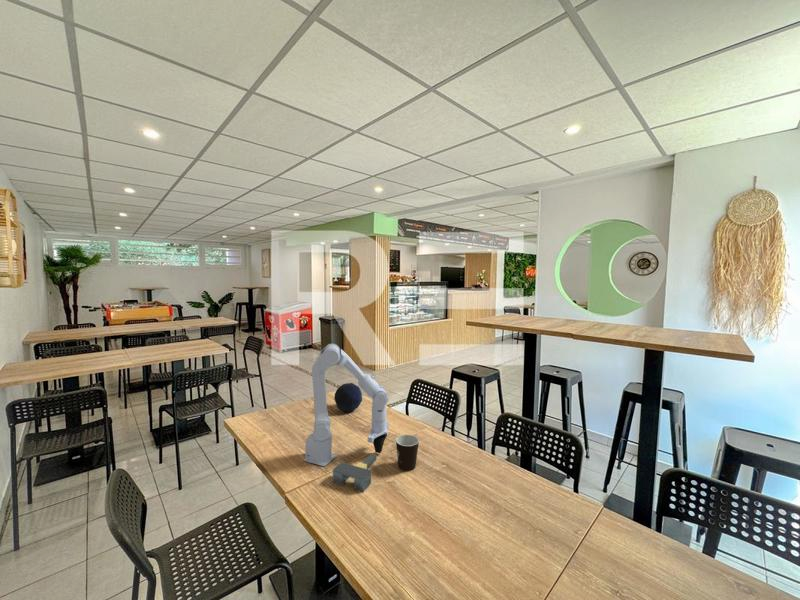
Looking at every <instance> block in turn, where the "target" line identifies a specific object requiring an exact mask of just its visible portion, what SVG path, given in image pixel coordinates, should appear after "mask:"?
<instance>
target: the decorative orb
mask: <svg viewBox="0 0 800 600" xmlns="http://www.w3.org/2000/svg"><path fill="white" fill-rule="evenodd" d="M362 402H363V394H362V390H361V387H360V386H359V385H356V384H355V383H353V382H348V383H342V385H340V386H339V387H338V388H337V389H336V391H335V392H334V403H335V405H336V407H337V409H339V410H341V411H342V412H344V411H346V412H348V413H349V412H353V411H354V410H356V409H358V408H359V406H360V405H361V403H362ZM346 412H345V413H346Z"/></svg>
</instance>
